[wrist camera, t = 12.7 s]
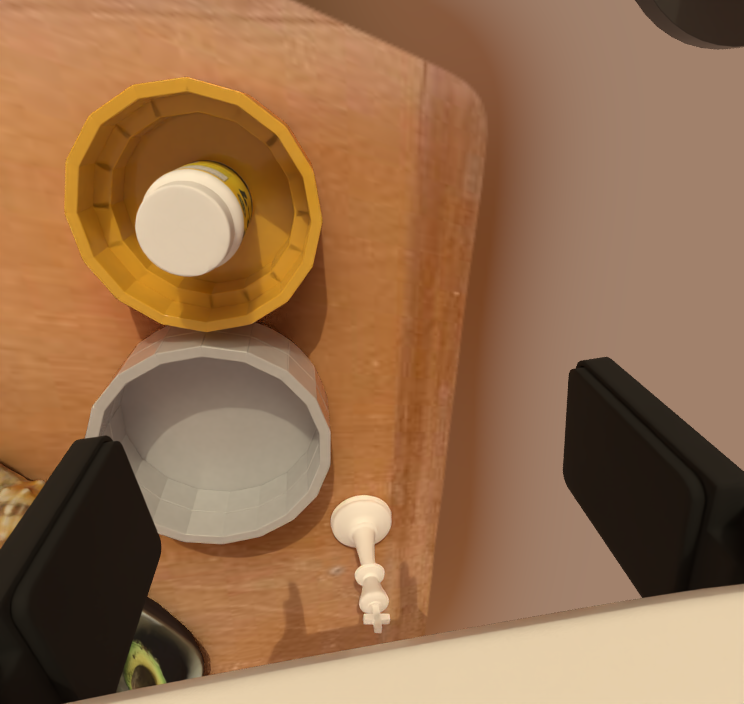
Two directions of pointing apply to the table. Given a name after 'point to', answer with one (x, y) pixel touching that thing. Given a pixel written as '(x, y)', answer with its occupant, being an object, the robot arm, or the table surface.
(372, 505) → the chess piece
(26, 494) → the seashell
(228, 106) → the yellow bowl
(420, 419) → the table surface
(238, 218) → the supplement bottle
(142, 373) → the gray round dish
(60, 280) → the table surface
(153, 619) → the salad plate
